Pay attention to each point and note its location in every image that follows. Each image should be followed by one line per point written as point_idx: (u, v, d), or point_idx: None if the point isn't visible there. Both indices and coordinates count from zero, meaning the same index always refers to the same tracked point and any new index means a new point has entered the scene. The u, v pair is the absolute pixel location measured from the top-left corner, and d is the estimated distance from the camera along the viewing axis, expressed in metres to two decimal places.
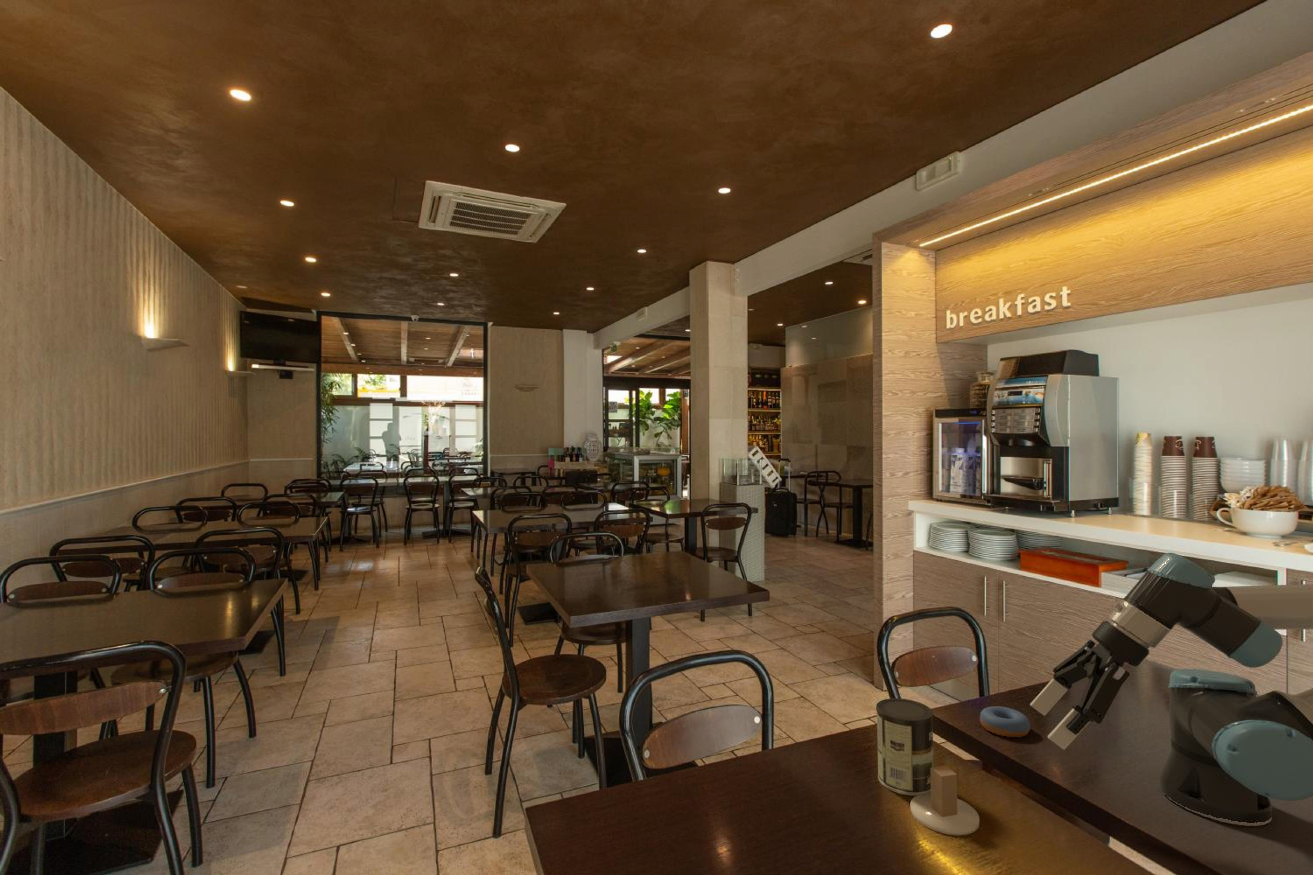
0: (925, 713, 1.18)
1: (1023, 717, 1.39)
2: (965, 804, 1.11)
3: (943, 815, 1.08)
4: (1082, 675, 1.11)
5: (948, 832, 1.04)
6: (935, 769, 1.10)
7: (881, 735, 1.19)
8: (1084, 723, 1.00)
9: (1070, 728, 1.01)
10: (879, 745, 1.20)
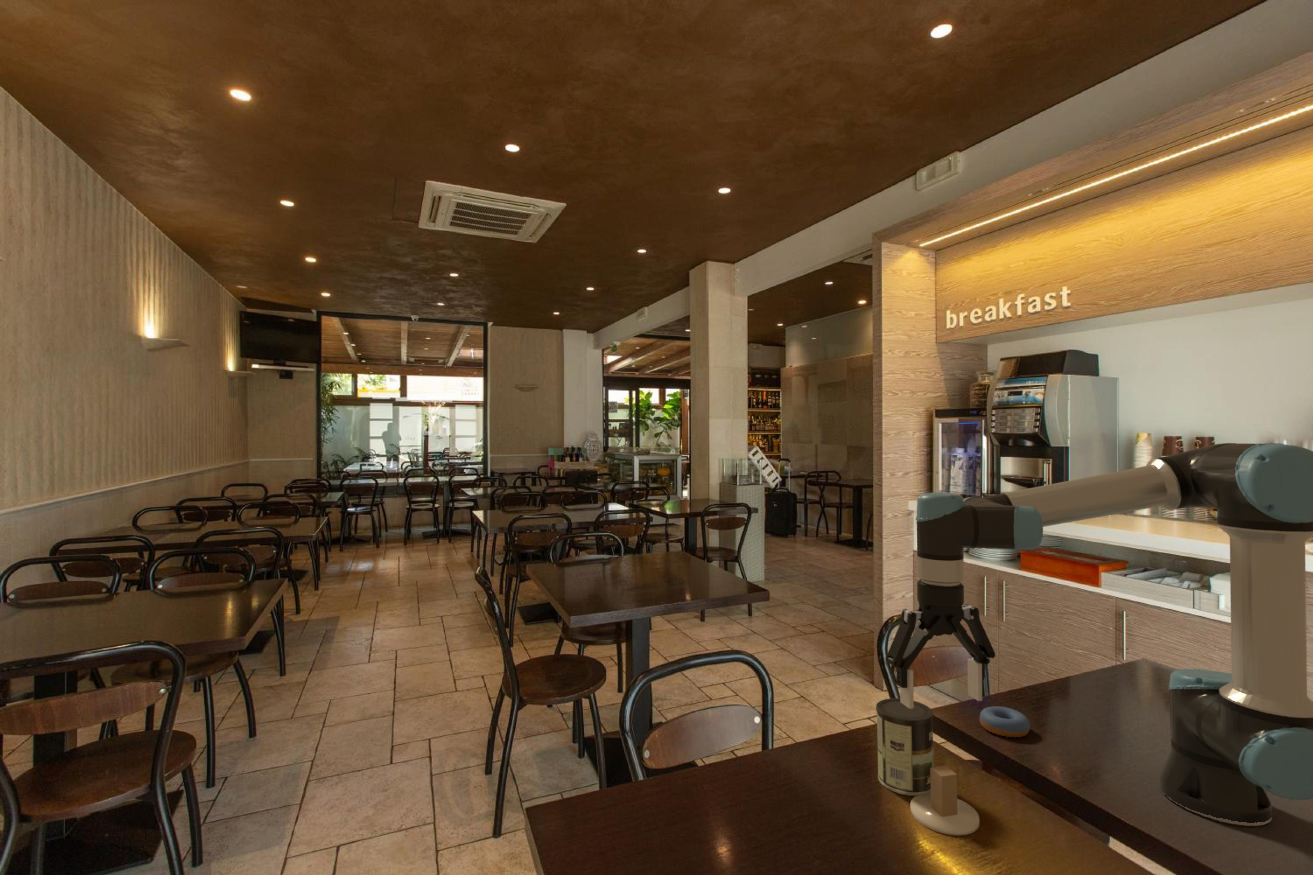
0: (925, 713, 1.18)
1: (1023, 717, 1.39)
2: (965, 804, 1.11)
3: (943, 815, 1.08)
4: (963, 641, 1.10)
5: (948, 832, 1.04)
6: (935, 769, 1.10)
7: (881, 735, 1.19)
8: (900, 673, 1.07)
9: (897, 683, 1.08)
10: (879, 745, 1.20)
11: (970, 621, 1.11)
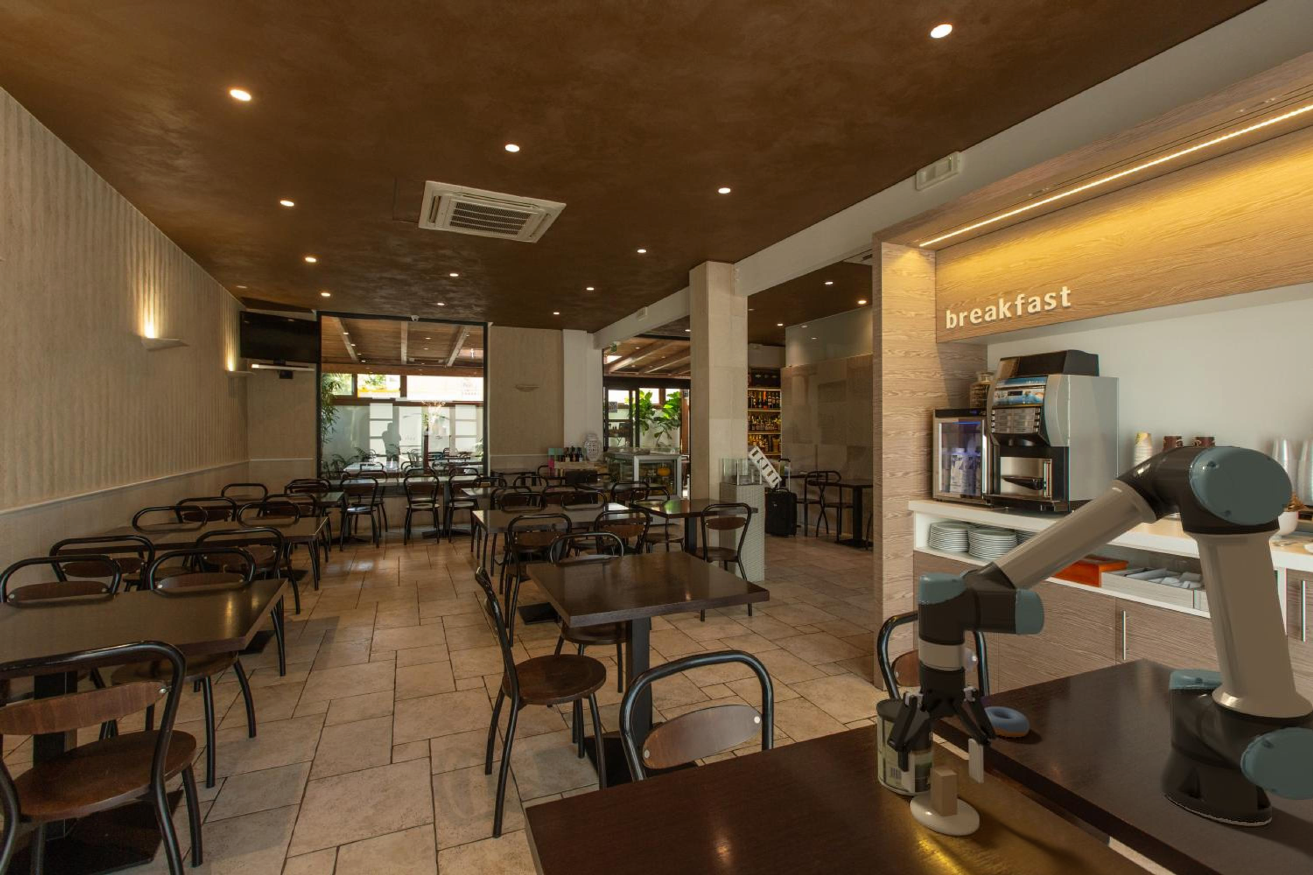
0: (925, 713, 1.18)
1: (1023, 717, 1.39)
2: (965, 804, 1.11)
3: (943, 815, 1.08)
4: (965, 723, 1.10)
5: (948, 832, 1.04)
6: (935, 769, 1.10)
7: (881, 735, 1.19)
8: (901, 757, 1.07)
9: (898, 766, 1.08)
10: (879, 745, 1.20)
11: (972, 703, 1.11)
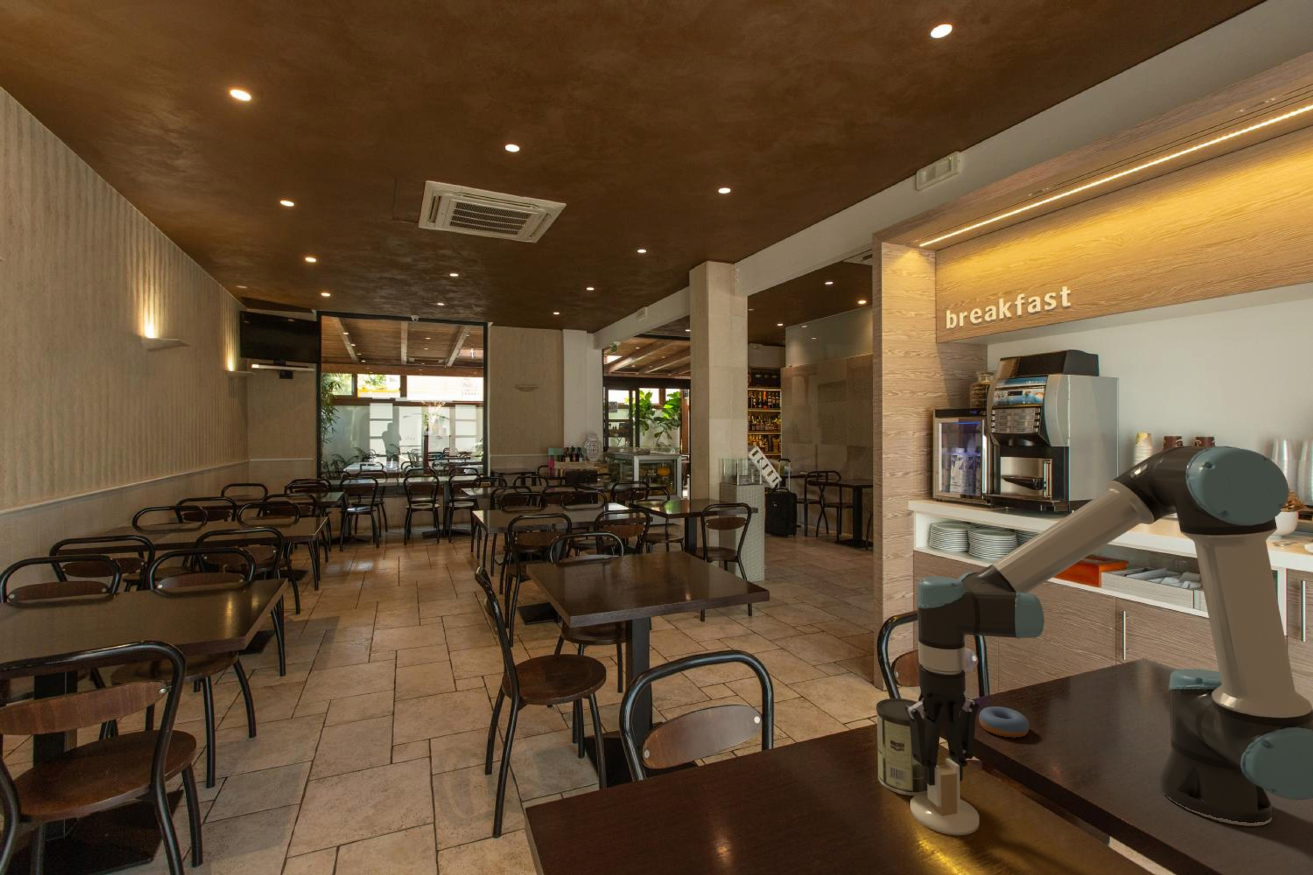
0: None
1: (1022, 717, 1.39)
2: (965, 803, 1.11)
3: (943, 814, 1.08)
4: (952, 733, 1.09)
5: (948, 831, 1.04)
6: None
7: (881, 735, 1.19)
8: (928, 771, 1.08)
9: None
10: (879, 745, 1.20)
11: (965, 714, 1.10)
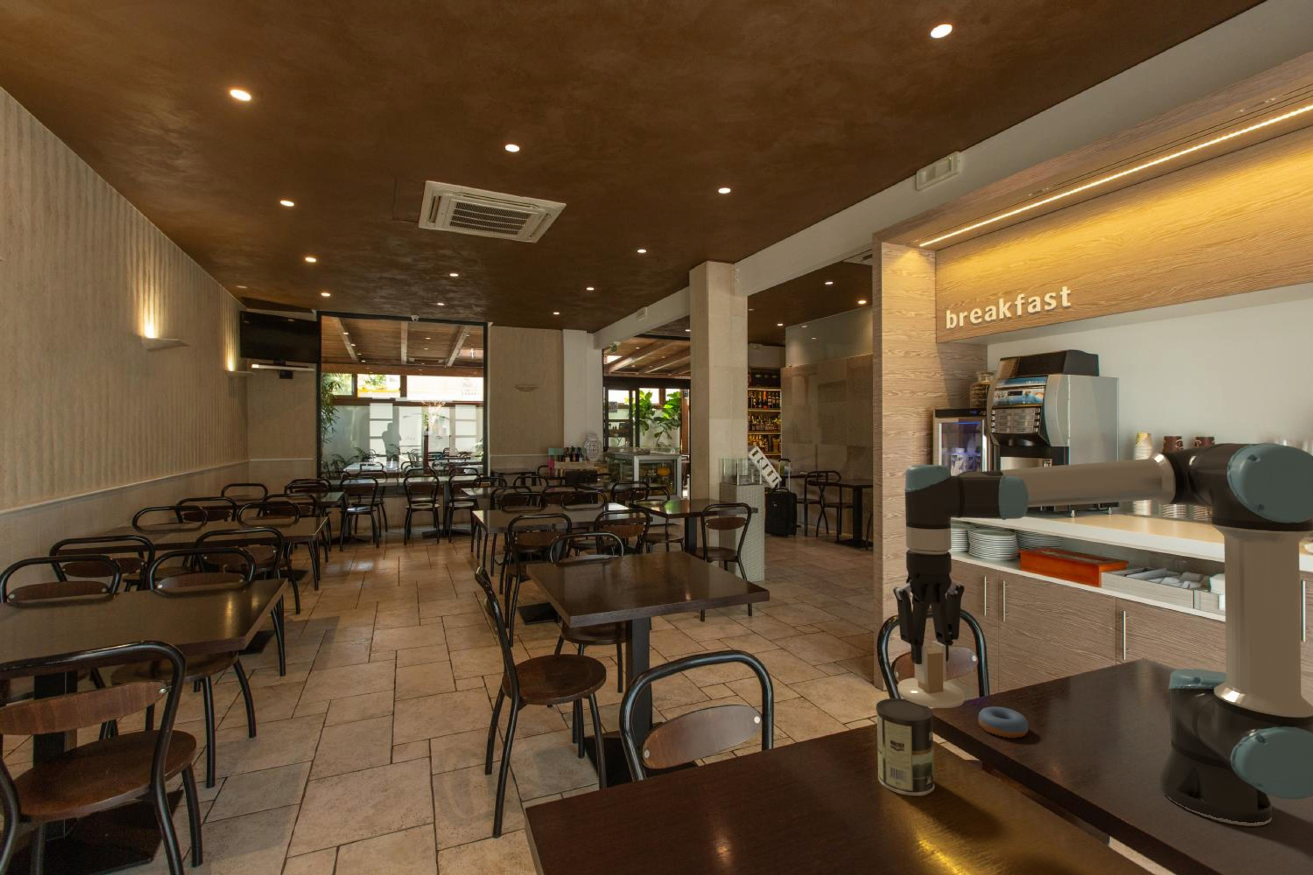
0: (925, 713, 1.18)
1: (1022, 717, 1.39)
2: (951, 685, 1.14)
3: (930, 692, 1.11)
4: (938, 614, 1.12)
5: (934, 704, 1.07)
6: None
7: (881, 735, 1.19)
8: (915, 650, 1.11)
9: (912, 660, 1.12)
10: (879, 745, 1.20)
11: (951, 597, 1.13)
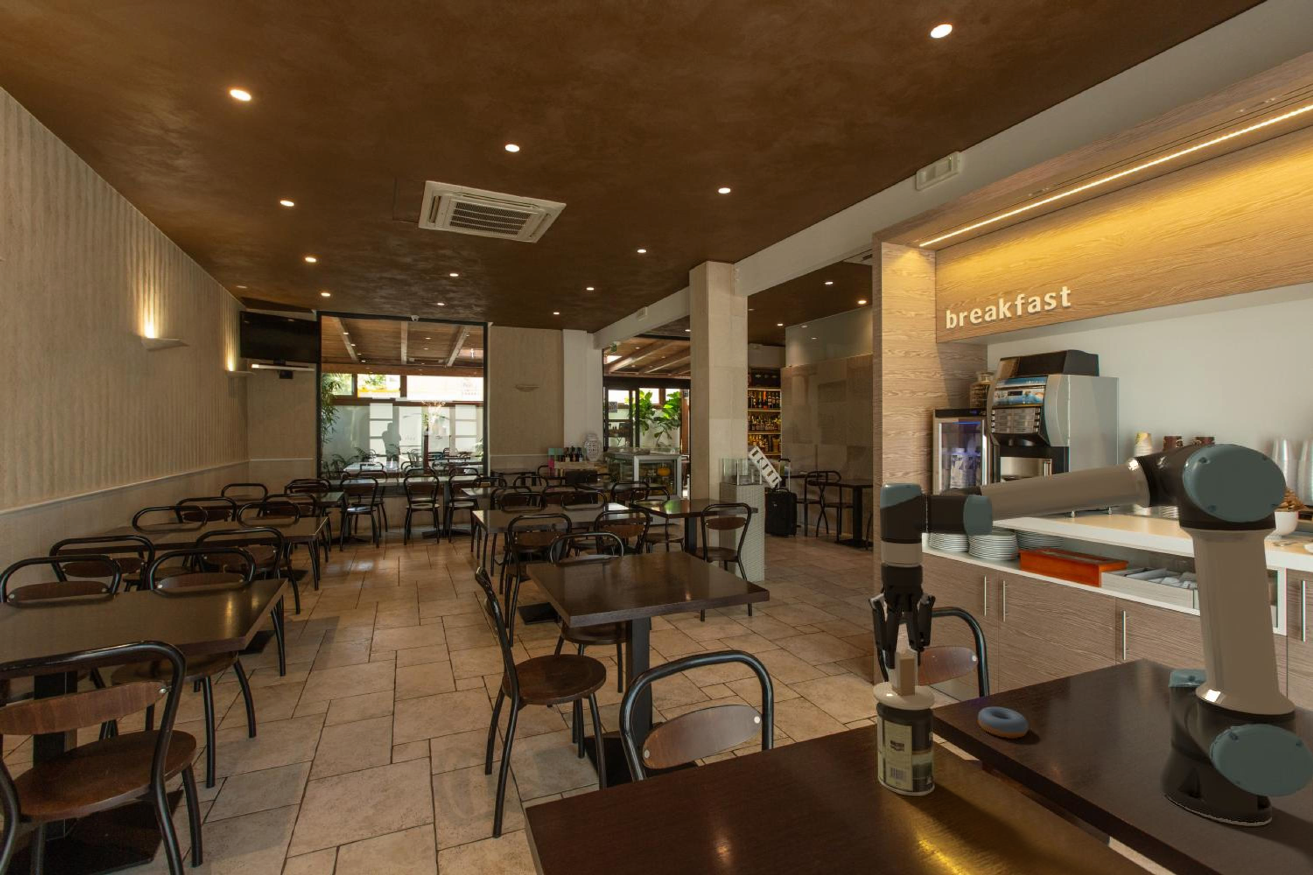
0: (925, 713, 1.18)
1: (1021, 717, 1.39)
2: (923, 688, 1.22)
3: (902, 695, 1.19)
4: (911, 623, 1.20)
5: (905, 706, 1.15)
6: None
7: (881, 735, 1.19)
8: (888, 656, 1.19)
9: (886, 665, 1.20)
10: (879, 745, 1.20)
11: (923, 607, 1.21)
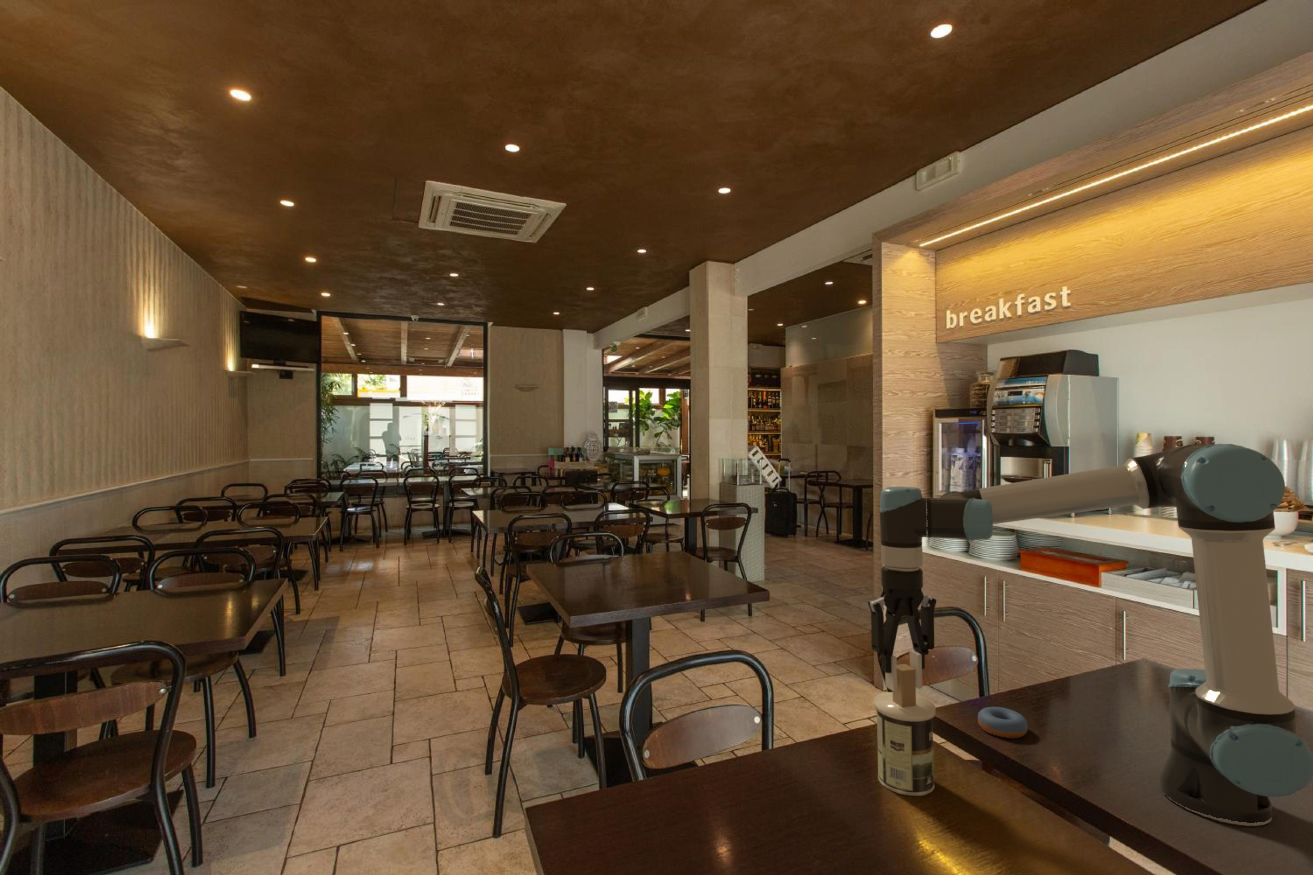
0: None
1: (1021, 718, 1.39)
2: (924, 699, 1.22)
3: (903, 706, 1.19)
4: (913, 626, 1.20)
5: (906, 718, 1.15)
6: None
7: (881, 735, 1.19)
8: (885, 660, 1.19)
9: (882, 669, 1.20)
10: (879, 745, 1.20)
11: (925, 610, 1.21)
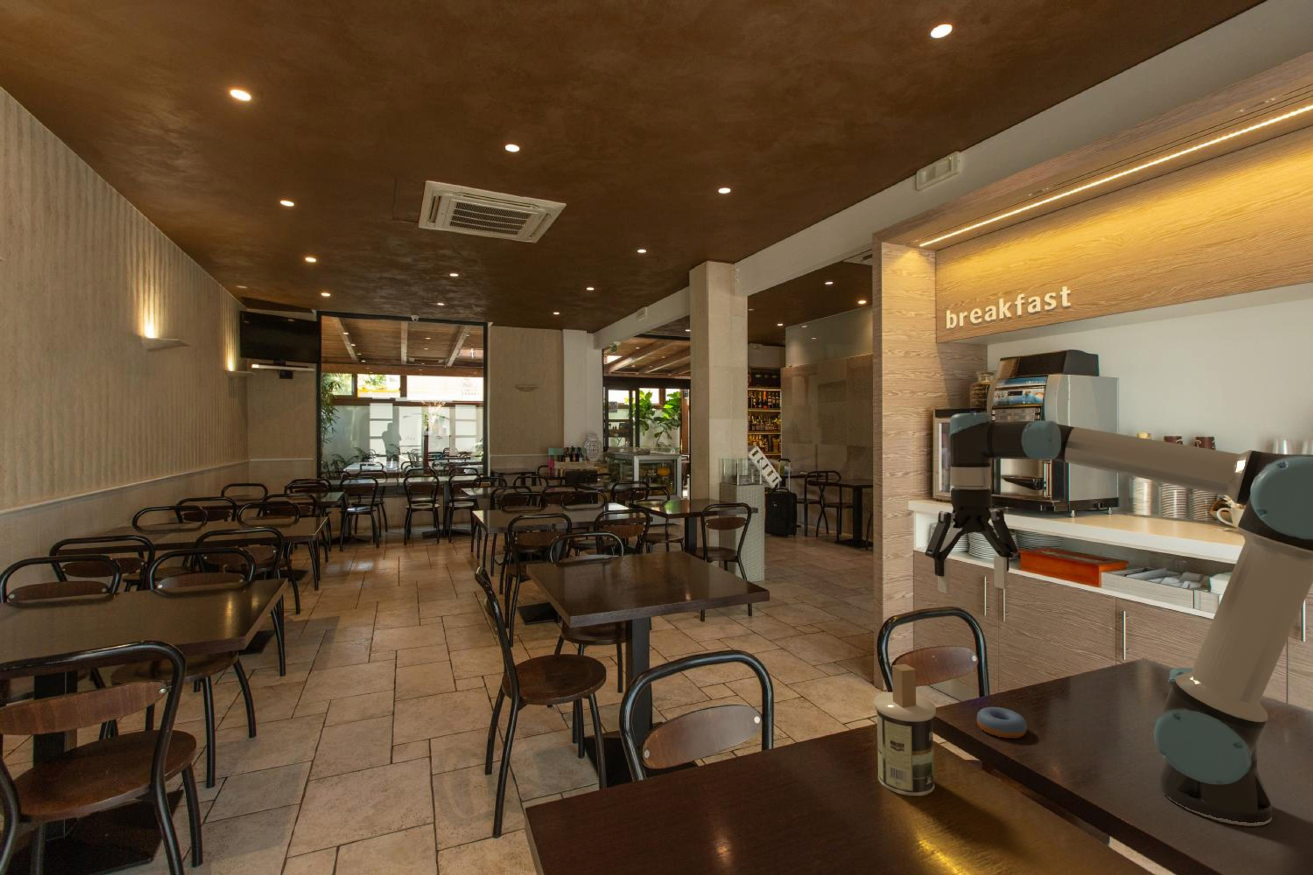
0: None
1: (1020, 718, 1.39)
2: (923, 699, 1.22)
3: (903, 706, 1.19)
4: (991, 538, 1.29)
5: (907, 718, 1.15)
6: (896, 666, 1.21)
7: (881, 735, 1.19)
8: (938, 564, 1.27)
9: (935, 573, 1.28)
10: (879, 745, 1.20)
11: (996, 522, 1.30)
